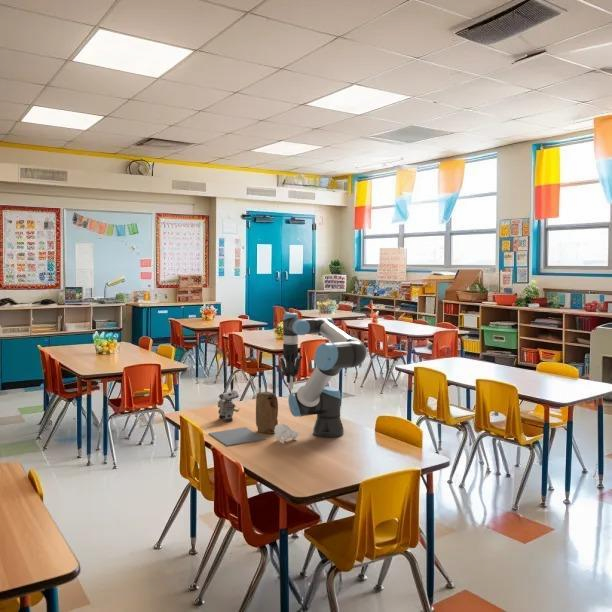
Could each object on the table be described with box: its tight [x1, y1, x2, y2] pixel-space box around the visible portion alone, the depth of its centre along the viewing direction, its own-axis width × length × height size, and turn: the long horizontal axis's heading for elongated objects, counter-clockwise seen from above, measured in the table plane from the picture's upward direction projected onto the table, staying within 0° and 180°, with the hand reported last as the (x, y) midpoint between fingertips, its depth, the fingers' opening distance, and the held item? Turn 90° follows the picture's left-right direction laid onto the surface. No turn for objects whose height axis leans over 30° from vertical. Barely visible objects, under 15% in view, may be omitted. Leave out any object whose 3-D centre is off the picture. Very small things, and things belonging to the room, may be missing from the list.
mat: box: [208, 426, 266, 447], centre depth 292 cm, size 22×20×1 cm
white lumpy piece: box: [274, 423, 299, 444], centre depth 286 cm, size 6×8×12 cm
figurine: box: [217, 390, 241, 423], centre depth 323 cm, size 9×12×15 cm
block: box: [255, 391, 279, 434], centre depth 300 cm, size 11×8×20 cm
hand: (290, 388), depth 307 cm, fingers closed
